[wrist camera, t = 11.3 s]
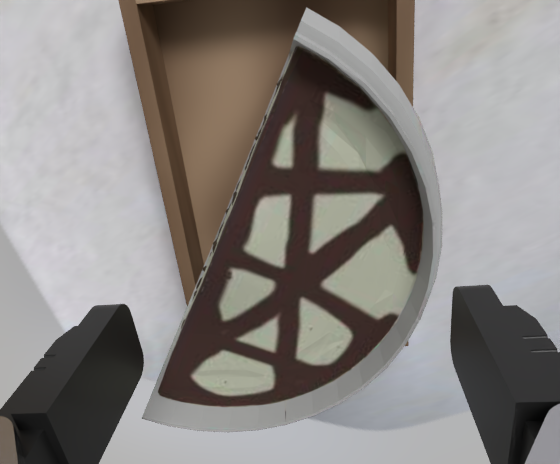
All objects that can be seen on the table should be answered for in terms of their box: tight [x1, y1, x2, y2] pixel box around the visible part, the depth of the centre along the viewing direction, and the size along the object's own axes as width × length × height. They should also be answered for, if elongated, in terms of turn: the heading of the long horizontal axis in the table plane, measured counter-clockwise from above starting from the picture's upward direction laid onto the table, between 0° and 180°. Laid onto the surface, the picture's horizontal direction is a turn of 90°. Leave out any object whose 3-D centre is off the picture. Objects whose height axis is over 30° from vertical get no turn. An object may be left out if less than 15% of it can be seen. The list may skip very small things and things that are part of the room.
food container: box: [142, 7, 442, 432], centre depth 16 cm, size 12×6×10 cm, turn 157°
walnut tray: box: [119, 0, 415, 346], centre depth 20 cm, size 10×16×2 cm, turn 6°
